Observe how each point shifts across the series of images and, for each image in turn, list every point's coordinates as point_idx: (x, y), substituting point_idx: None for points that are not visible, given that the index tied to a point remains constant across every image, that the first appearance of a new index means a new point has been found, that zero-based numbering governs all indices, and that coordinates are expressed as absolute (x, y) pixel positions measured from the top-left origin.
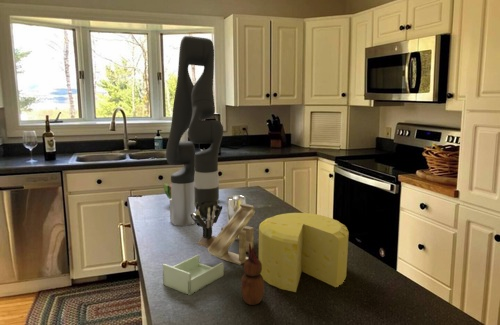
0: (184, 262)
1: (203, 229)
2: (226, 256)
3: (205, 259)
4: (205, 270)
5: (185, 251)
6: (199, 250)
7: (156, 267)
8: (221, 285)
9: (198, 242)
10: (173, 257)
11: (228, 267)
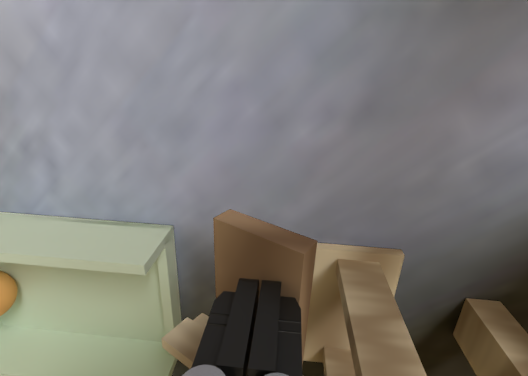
0: (27, 262)
1: (197, 363)
2: (333, 287)
3: (262, 205)
4: (154, 285)
5: (287, 16)
6: (353, 92)
7: (9, 43)
8: None
9: (218, 224)
10: (164, 21)
11: None
